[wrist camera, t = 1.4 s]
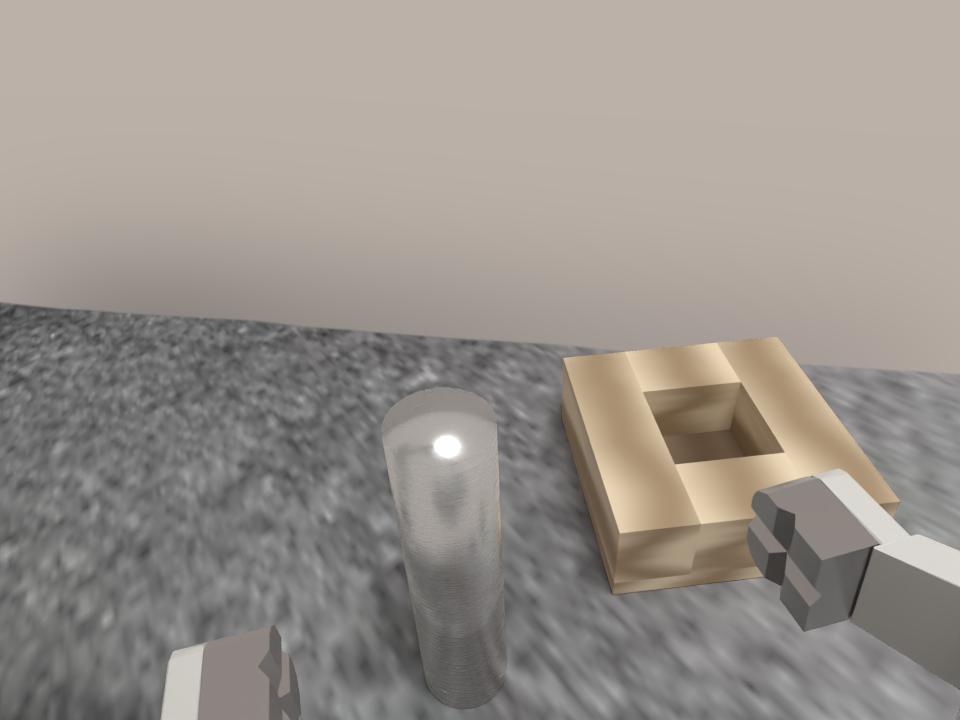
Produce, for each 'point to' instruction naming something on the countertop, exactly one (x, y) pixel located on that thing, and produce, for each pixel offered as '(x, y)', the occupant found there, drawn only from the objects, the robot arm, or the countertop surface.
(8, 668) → the countertop surface
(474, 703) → the pin
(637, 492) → the socket block
